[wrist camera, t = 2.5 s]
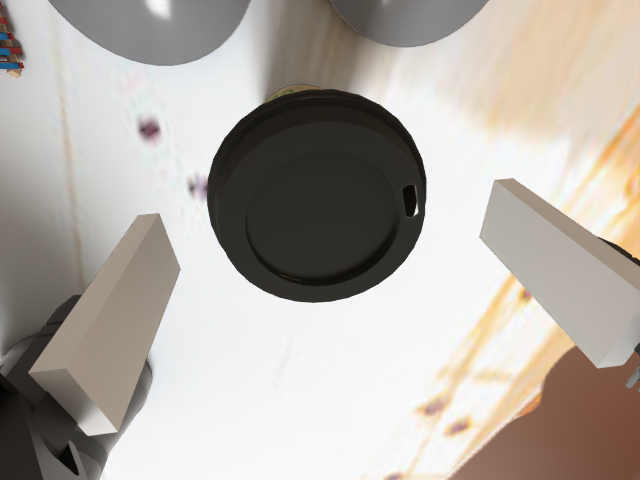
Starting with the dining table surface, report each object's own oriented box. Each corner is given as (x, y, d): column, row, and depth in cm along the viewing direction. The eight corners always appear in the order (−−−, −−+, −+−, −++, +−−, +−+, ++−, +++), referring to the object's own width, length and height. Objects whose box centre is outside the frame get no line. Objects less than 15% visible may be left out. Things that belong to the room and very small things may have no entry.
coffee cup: (213, 80, 23) (144, 152, 11) (346, 36, 23) (433, 57, 10) (263, 199, 29) (256, 334, 17) (371, 165, 28) (448, 279, 16)
